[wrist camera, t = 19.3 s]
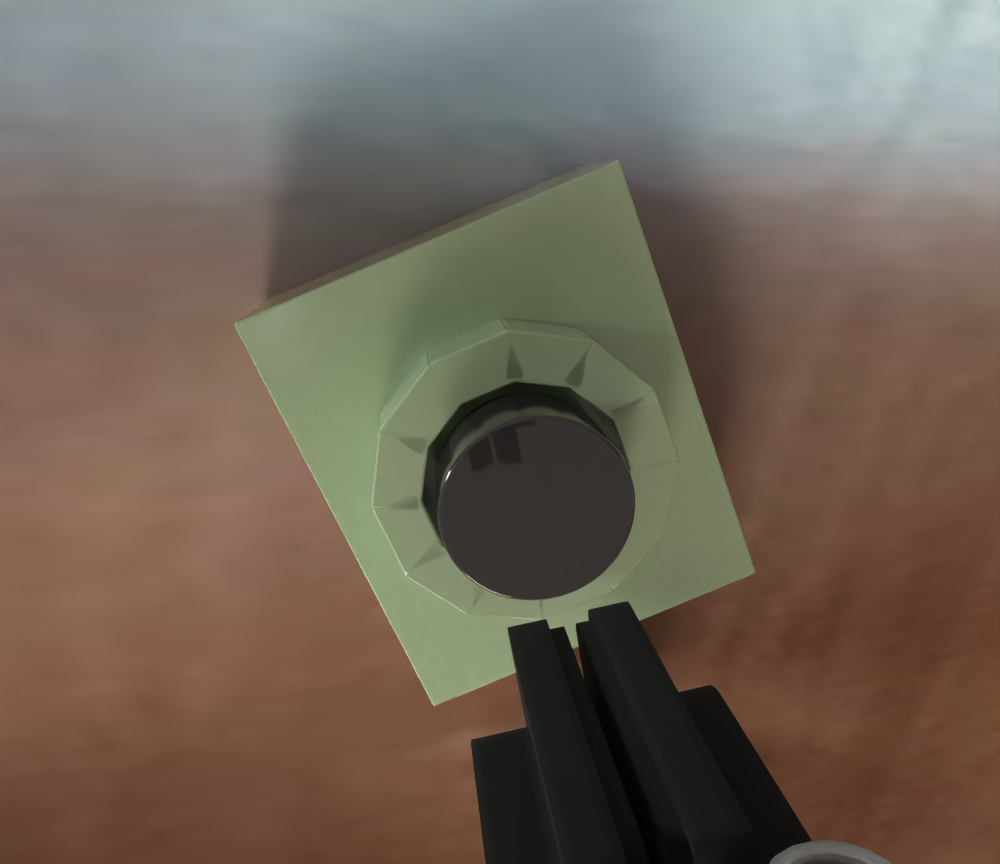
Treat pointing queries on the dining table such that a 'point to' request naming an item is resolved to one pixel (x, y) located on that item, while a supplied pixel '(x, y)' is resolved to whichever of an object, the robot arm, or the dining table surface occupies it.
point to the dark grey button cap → (532, 497)
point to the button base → (485, 376)
